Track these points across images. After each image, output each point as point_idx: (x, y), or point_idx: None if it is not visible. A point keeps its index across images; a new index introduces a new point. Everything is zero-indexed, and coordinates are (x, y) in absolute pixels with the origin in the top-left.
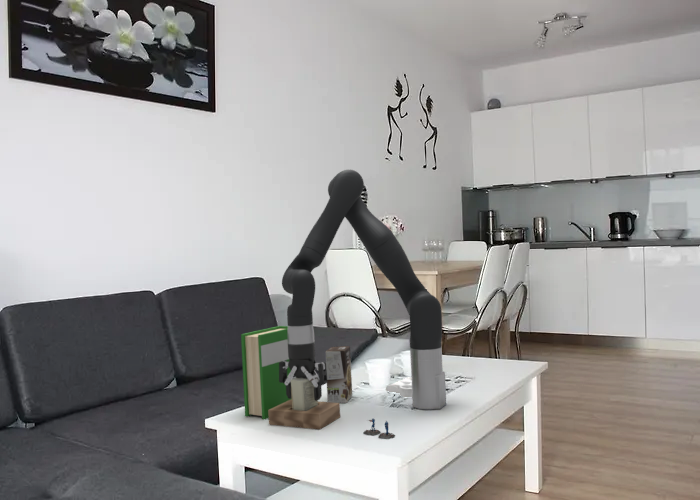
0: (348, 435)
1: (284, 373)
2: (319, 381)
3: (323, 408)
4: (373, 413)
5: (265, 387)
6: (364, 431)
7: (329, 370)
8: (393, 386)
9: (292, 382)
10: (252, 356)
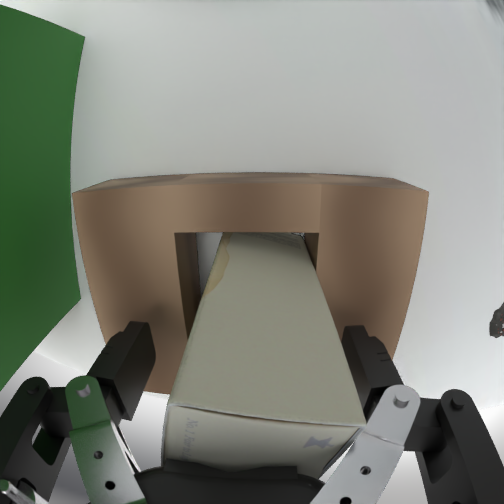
0: (455, 359)
1: (45, 462)
2: (414, 450)
3: (375, 318)
4: (488, 99)
5: (2, 364)
6: (493, 325)
7: None
8: None
9: None
10: None
